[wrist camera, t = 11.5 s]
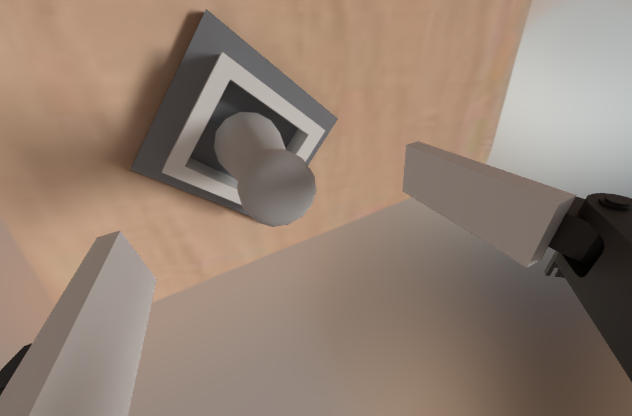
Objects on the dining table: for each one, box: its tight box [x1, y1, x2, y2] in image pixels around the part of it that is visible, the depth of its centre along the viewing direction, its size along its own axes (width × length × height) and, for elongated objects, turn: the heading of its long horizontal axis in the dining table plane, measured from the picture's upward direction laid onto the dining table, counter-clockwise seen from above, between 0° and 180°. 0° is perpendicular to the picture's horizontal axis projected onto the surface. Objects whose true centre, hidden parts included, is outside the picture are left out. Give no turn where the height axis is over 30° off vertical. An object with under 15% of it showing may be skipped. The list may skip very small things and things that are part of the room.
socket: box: [131, 9, 337, 216], centre depth 22 cm, size 14×14×4 cm
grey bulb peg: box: [214, 112, 316, 227], centre depth 18 cm, size 6×6×13 cm
